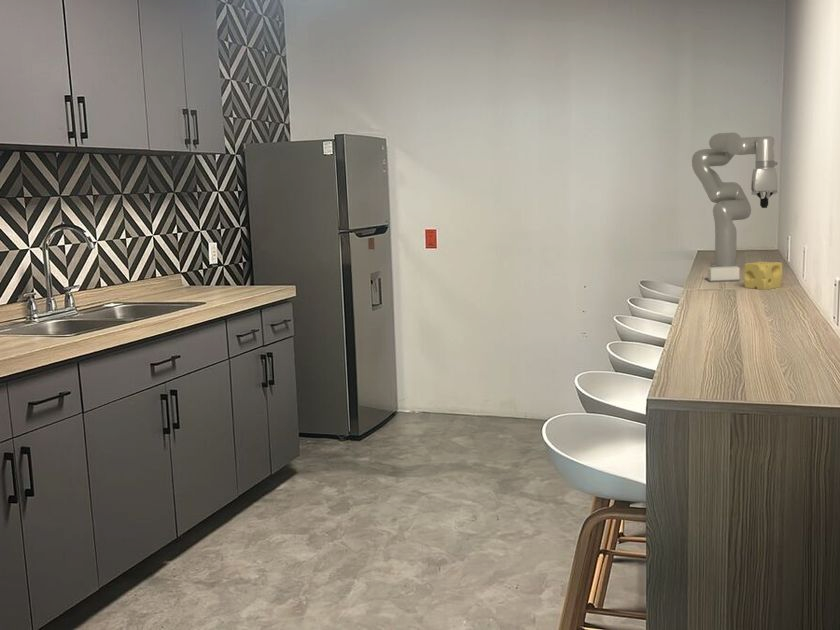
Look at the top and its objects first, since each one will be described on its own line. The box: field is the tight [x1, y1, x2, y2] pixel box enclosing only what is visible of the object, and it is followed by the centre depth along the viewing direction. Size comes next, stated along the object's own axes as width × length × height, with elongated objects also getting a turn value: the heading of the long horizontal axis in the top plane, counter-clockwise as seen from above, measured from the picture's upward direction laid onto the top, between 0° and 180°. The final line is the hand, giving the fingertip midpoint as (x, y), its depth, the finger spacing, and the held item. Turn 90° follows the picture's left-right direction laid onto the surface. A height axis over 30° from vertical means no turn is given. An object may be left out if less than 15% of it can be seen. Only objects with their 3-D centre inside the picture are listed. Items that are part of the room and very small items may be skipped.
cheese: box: [743, 261, 784, 291], centre depth 338 cm, size 10×11×10 cm
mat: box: [704, 277, 740, 283], centre depth 364 cm, size 10×12×1 cm
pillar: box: [707, 266, 741, 280], centre depth 363 cm, size 5×5×12 cm
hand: (764, 207), depth 372 cm, fingers closed
